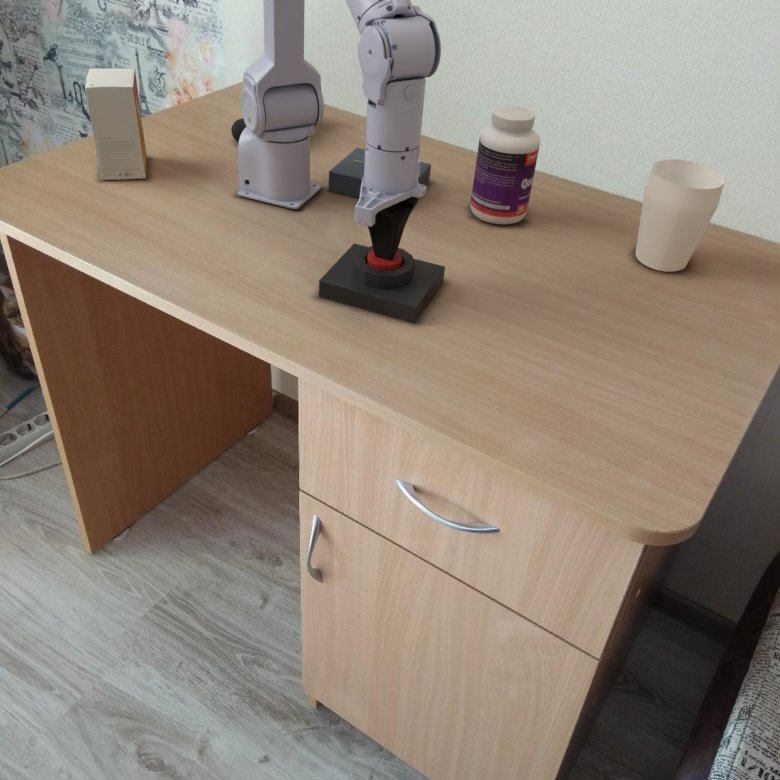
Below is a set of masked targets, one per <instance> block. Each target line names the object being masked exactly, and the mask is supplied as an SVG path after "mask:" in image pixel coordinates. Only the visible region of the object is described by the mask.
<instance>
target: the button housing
mask: <svg viewBox="0 0 780 780" xmlns="http://www.w3.org/2000/svg"><path fill="white" fill-rule="evenodd" d="M371 250H373V246H372V245H370V246H366V245H363V244H359V243H355V242H354V243H353V244H352V245H351V246H350V247H349V248H348V249H347V250H346V251H345V252H344V253H343V255H341V256H340V258H339V259H338V260H337V261H336V262H335V263H334V264H333V265H332V267H330V268H329V269H328V270H327V272H326V273H324V275H323V276H322V277H321V278H320V279H319V281H318V297H319V298H323V299H325V300H326V299H327V300H330V301H334V302H337V303H340V304H345V305H347V306H352V307H355V308H359V309H362V310H366V311H369V312H372V313H377V314H380V315H384V316H387V317H388V316H389V317H392V318H395V319H397V320H402V321H404V322H405V321H406V322H409V323H412V324H416V323H417V321H418V320H419V318H420V317H421V316H422V314H423V312H424V311H425V309H426V308H427V307H428V305H429V304H430V302H431V301H432V299H433V297H434V296H435V295H436V293H437V292H438V290H439V289H440V288H441V286H442V285H443V283H444V279H445V273H446V272H445V271H446V266H444V265H440V264H436V263H433V262H428V261H426V260H422V259H417V258H414V256H413V254H411V253H409V252H408V251H407V250H405V249H404V248H400V247H398V250H397V251H398V252H399V253H400V254H401V256H402V264H401V267H400V268H397V269H394V270H379V269H375V268H372V267H371V266H369V265H368V264H367V256H368V253H369V252H370V251H371Z"/></svg>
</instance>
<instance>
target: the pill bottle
mask: <svg viewBox="0 0 780 780" xmlns="http://www.w3.org/2000/svg"><path fill="white" fill-rule="evenodd" d="M535 118H536V114H535V112H533V111H532V110H530V109H528V108H525V107H523V106H517V105H498V106H496V107H494V109H492V114H491V123H490V124H488V125H486V126H485V127H484V128H483V129H482V130H481V132H480V134H479V140H478V147H477V154H476V161H475V167H474V176H473V182H472V190H471V196H470V204H469V206H470V210H471V212H472V213H473V215H474V216H475V217H476V218H477V219H479V220H481V221H482V222H485V223H489V224H495V225H513V224H516V223H519V222H521V221H522V220H523V219H525V217H526V216H527V213H528V209H529V203H530V198H531V192H532V187H533V184H534V183H533V182H534V177H535V172H536V166H537V161H538V157H539V150H540V145H541V139H540V138H541V137H540V136H539V135H538V133H537V132H536V130H535V129H533V128H534V125H535V121H536V120H535Z"/></svg>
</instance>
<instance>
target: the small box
mask: <svg viewBox="0 0 780 780" xmlns="http://www.w3.org/2000/svg"><path fill="white" fill-rule="evenodd" d="M136 73H137V72H136V68H107V67H105V68H104V67H103V68H97V67H96V68H95V67H93V68H92V67H91V68H89V69H88V71H87V74H86V75H87V76H86V78H85V85H84V91H85V98H86V103H87V108H88V115H89V120H90V124H91V125H90V126H91V130H92V131H91V132H92V137H93V141H94V142H93V143H94V147H95V153H96V159H97V165H98V171H99V178H100V180H101V181H109V180H110V181H111V180H112V181H113V180H114V181H116V180H117V181H118V180H139V179H140V180H141V179H147V148H146V141H145V135H144V128H143V120H142V119H143V118H142V111H141V105H140V97H139V89H138V81H137V74H136Z"/></svg>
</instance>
